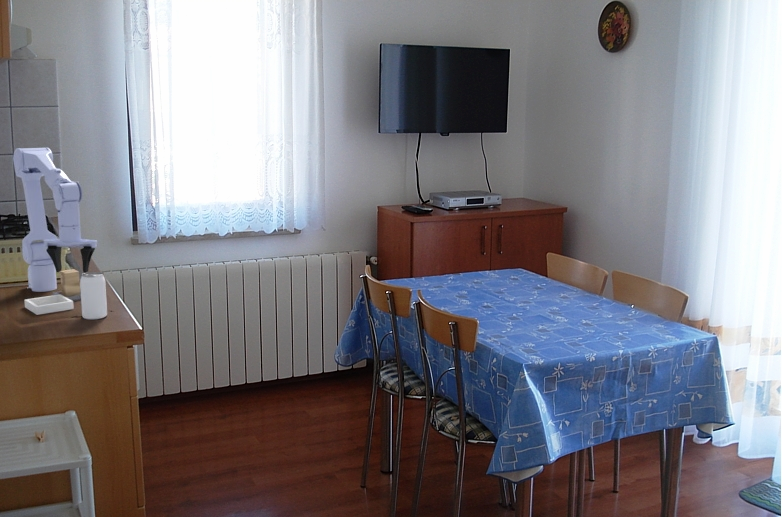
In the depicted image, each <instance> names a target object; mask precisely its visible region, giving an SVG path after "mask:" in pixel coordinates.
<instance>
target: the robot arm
mask: <svg viewBox="0 0 782 517" xmlns="http://www.w3.org/2000/svg"><path fill="white" fill-rule="evenodd" d="M12 160H13V166H14V173H15V176H16V177H17V178H20V179H21V182H22V186H23V192H24V199H25V205H26V211H27V218H28V224H29V225H28V226H29V229H30V231H29V233H28V234H27V235H26V236H24V238H23V239H22V241H21V243H22V244H21V246H22V248H21V250H22V251H21V254H22V258H23V260H24V262H26V264H29V265H28V267H27V279H28V289H31V291H32V292H37V293H38V292H39V293H40V292H51V291H54V290H57V288H58V285H57V284H58V283H57V273H60V271H63V270H62V269H63V267H62V259H61V258H62V247H63V248H80V251H79V252H80V254H81V259H82V260H81V261H82V272H83V273H82V274H84V273H89V268H90V262H91V259H92V256H93V254H94V252H95V250H96V248H98V240H97V239H86V238H82V233H81V232H82V231H81V215H80V202H82V199H83V189H82V186H81V184H80V183H79V181H72V180H71V179H70V178H69V176H67V174H66V173H65V172H64V171H63V170H62V169H61V168H57V167H56V165H55V164H54V154H53V152H52V150H51V149H50V147H28V148H27V147H26V148H20V147H18V148H17V147H16V148H15V150H14V152H13V156H12ZM42 177H44V182H45V184H46V185H47V186H48V187H49V188H50V190H51V192H52V198H53V200H54V207H55V209H56V210H57V220H58V221H57V222H58V223H57V224H58V237H59V238H58V237H57V235H56V234H54V233H52V232H50V231H49V230H48V225H47V224H48V222H47V218H46V212H45V205H44V204H45V203H44V198H43V194H42V192H43V191H42V186H41V178H42Z"/></svg>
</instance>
